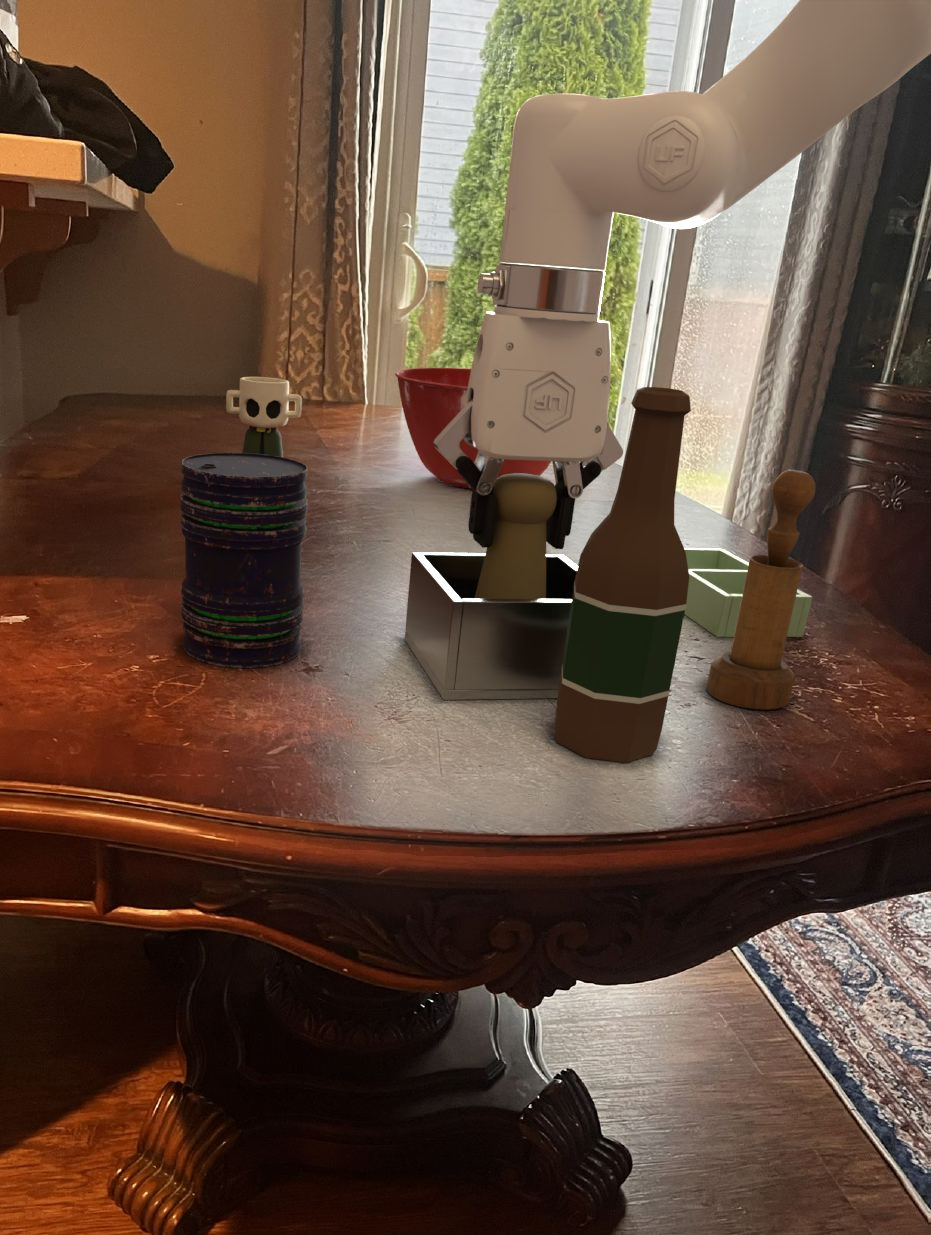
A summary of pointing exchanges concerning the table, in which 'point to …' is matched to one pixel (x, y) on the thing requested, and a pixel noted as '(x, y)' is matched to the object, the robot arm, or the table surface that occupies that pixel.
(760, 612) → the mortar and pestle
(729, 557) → the divided storage box
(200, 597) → the oil drum
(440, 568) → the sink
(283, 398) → the character mug
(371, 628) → the table surface
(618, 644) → the beer bottle
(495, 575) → the cork
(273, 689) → the table surface
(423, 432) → the mixing bowl
